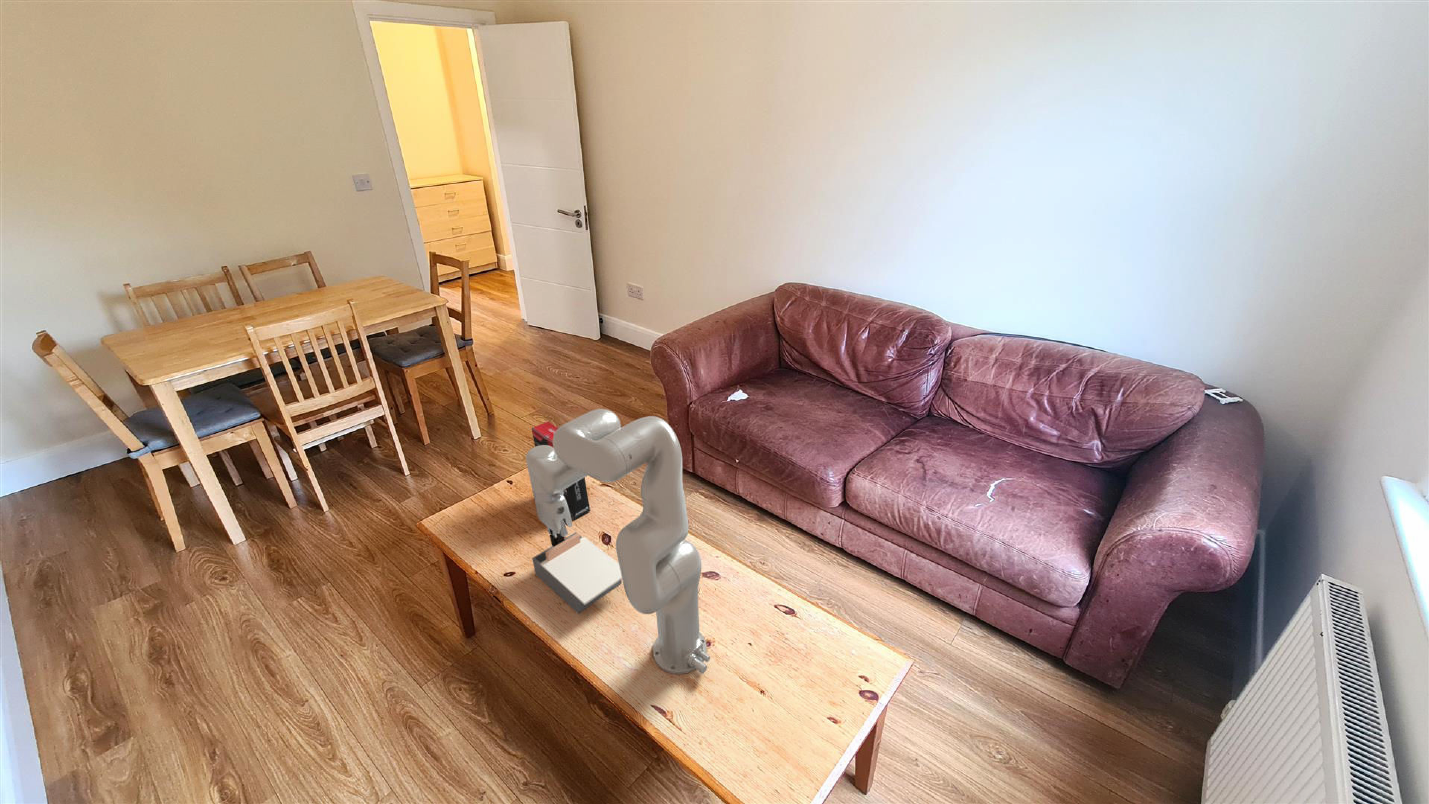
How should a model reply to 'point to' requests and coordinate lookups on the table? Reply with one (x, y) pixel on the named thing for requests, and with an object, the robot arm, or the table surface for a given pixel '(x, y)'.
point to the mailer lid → (582, 568)
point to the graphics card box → (575, 492)
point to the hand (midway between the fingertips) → (558, 544)
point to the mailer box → (559, 588)
